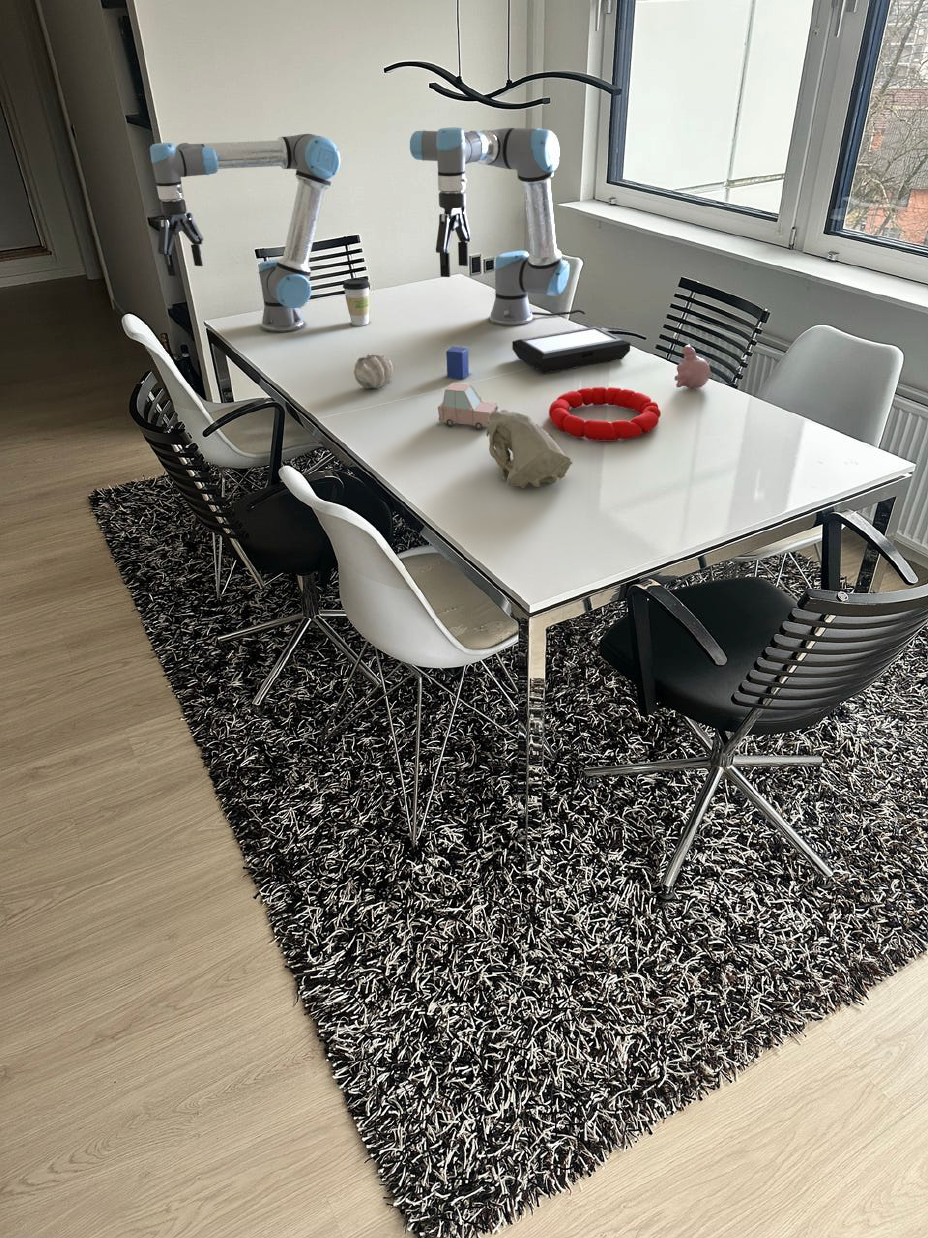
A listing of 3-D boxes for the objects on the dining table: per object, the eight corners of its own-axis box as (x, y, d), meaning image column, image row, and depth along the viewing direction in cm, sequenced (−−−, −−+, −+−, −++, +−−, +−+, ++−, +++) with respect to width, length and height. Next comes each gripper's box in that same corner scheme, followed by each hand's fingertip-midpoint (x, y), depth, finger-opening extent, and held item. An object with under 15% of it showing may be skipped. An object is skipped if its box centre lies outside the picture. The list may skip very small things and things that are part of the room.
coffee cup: (372, 326, 323) (368, 283, 314) (345, 327, 323) (340, 284, 315) (374, 318, 331) (371, 276, 322) (348, 319, 331) (344, 277, 323)
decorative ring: (589, 435, 224) (684, 402, 234) (527, 398, 247) (617, 369, 256) (589, 461, 229) (683, 427, 238) (529, 422, 251) (617, 393, 260)
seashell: (346, 386, 272) (343, 354, 266) (390, 377, 278) (388, 345, 272) (359, 397, 264) (356, 364, 259) (405, 387, 270) (402, 354, 264)
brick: (463, 379, 275) (462, 352, 270) (447, 377, 277) (446, 350, 272) (468, 374, 279) (468, 347, 274) (453, 372, 280) (452, 346, 276)
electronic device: (541, 356, 271) (512, 338, 286) (541, 376, 275) (512, 357, 290) (630, 340, 281) (597, 324, 296) (629, 359, 285) (596, 342, 300)
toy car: (488, 432, 240) (488, 396, 234) (436, 426, 244) (434, 390, 239) (499, 419, 247) (499, 384, 241) (448, 413, 252) (447, 379, 246)
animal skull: (496, 517, 219) (521, 479, 201) (463, 429, 225) (484, 384, 207) (557, 503, 225) (586, 465, 206) (523, 417, 231) (549, 373, 212)
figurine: (665, 387, 264) (669, 347, 257) (693, 380, 268) (698, 340, 261) (686, 396, 257) (690, 355, 250) (714, 388, 262) (720, 348, 255)
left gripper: (156, 207, 267) (171, 280, 279) (206, 192, 286) (218, 262, 298) (136, 206, 269) (152, 279, 281) (186, 192, 288) (199, 260, 300)
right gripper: (446, 199, 237) (449, 282, 249) (480, 184, 256) (482, 261, 268) (421, 198, 239) (425, 280, 251) (456, 183, 258) (459, 260, 270)
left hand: (186, 270), depth 289 cm, fingers open, 13 cm apart
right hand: (454, 270), depth 260 cm, fingers open, 13 cm apart
